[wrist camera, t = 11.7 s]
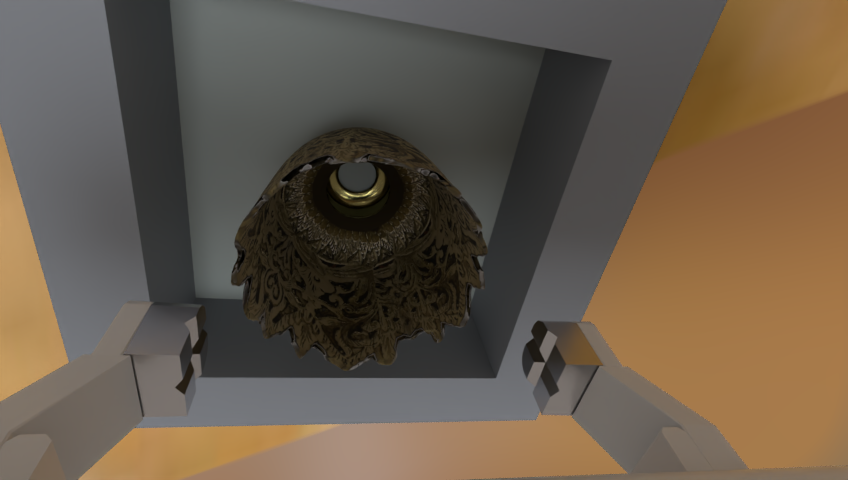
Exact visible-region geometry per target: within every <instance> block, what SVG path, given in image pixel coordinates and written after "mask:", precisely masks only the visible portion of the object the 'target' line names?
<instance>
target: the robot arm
mask: <svg viewBox="0 0 848 480" xmlns="http://www.w3.org/2000/svg"><path fill="white" fill-rule="evenodd" d="M205 321H206V312H205V307H204V306H203V305H197V304H182V303H167V302H146V301H131V300H130V301H128V302H127V303H125V304H124V305H123V306H122V308H121V309H120V311H119V313H118V314H117V316H116V317H115V319H114V320H113V322H112V323H111V325H110V327H109V328H108V330H107V331H106V333H105V334H104V336H103V337H102V339H101V341H100V342H99V344H98V345H97V347H96V348H95V350H94V351H93V353H92V354H91V355H87V354H83V355H82V356H80V357H78V358H76V359H75V360H73V361H71V362H69V363H68V364H66V365H64V366H62V367H61V368H59V369H57V370H55V371H54V372H52V373H50V374H48V375H47V376H45V377H43V378H41V379H39V380H38V381H36V382H34V383H32V384H31V385H29V386H27V387H25V388H24V389H22V390H20V391H18V392H17V393H15V394H13V395H11V396H10V397H8V398H6V399H4V400H3V401H1V402H0V480H78V479H79V478H80V477H81V476H82V475H83V474H84V473H85V472H86V471H87V470H88V469H90V468H91V467H92V466H93V465H94V464H95V463H96V462H97V461H98V460H99V459H101V458H102V457H103V456H104V455H105V454H106V453H107V452H108V451H109V450H110V449H112V448H113V447H114V446H115V445H116V444H117V443H118V442H119V441H120V440H121V439H123V438H124V437H125V436H126V435H127V434H128V433H129V432H130V431H131V430H132V429H133V428H135V427H136V426H137V425H138V424H139V423H140V422H141V421H142V420H143V417H174V416H187V415H188V412H189V409H190V407H191V404H192V401H193V398H194V395H195V393H196V384H195V379H197V378H198V377H199V376H200V375H202V372H203V369H204V366H205V362H206V357H207V351H208V334H207V332H206V331H205V330H204V329H203V326H204V323H205ZM531 333H532V335H533V337H534V338H533V339H532V340H530V341H529V342H528V343H526V345H525V348H524V350H523V353H522V366H523V372H524V374H525V376H526V379H527V380H528V381H529V382H530V383H532V384H533V385H534V386H535V388H534V391H533V395H534V398H535V400H536V402H537V405H538V407H539V409H540V412H541V414H542V415H571V416H572V418H573V419H574V420H575V421H576V422H577V423H578V424H579V425H580V426H581V427H582V428H583V429H584V430H585V431H586V432H587V433H588V434H589V435H590V436H591V437H592V438H593V439H594V440H596V442H597V443H598V444H599V445H600V446H601V447H602V448H603V449H604V450H605V451H606V452H607V453H609V455H610V456H611V457H612V458H613V459H614V460H615V461H616V462H617V463H618V464H619V465H620V466H621V467H622V468H623V469H624V470H625V471H626V472H627V473H628V474H605V475H604V474H603V475H577V476H576V475H575V476H552V477H551V476H550V477H524V478H523V477H522V478H498V479H497V478H496V479H470V480H848V465H846V466H822V467H821V466H820V467H797V468H796V467H795V468H770V469H749V468H748V467H747V466H746V465H745V464H744V462H743V461H742V459H741V458H740V457H739V456H738V455H737V453H736V452H735V451H734V449H733V448H732V447H731V445H730V444H729V443H728V442H727V440H726V439H725V438H724V436H723V435H722V434H721V433H720V431H719V430H718V429H717V427H716V426H715V425H713V424H712V423H710V422H709V421H708V420H706V419H704V418H703V417H702V416H700V415H699V414H697V413H696V412H694V411H693V410H691V409H690V408H688V407H687V406H685V405H684V404H682V403H681V402H679V401H678V400H676V399H675V398H673V397H672V396H670V395H669V394H668V393H666V392H665V391H663V390H661V389H660V388H658V387H657V386H656V385H654V384H653V383H651V382H650V381H648V380H647V379H645V378H644V377H642V376H641V375H639V374H638V373H636V372H635V371H633V370H632V369H630V368H629V367H623V366H622V365H621V363H620V362H619V360H618V359H617V357H616V356H615V354H614V353H613V351H612V350H611V348H610V347H609V346H608V344H607V343H606V341H605V340H604V338H603V337H602V335H601V334H600V332H599V331H598V329H597V328H596V326H595V325H594V324H592V323H591V322H578V321H573V322H567V321H541V320H538V321H537V322H536V323H535V324H534V325H533V328H532V330H531Z"/></svg>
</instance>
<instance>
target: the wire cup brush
mask: <svg viewBox="0 0 848 480" xmlns="http://www.w3.org/2000/svg"><path fill="white" fill-rule="evenodd" d="M365 162H368V163H371V164H372V165H373V166H374V168H375V171H376V179H375V182H374V184H373V185H372V186H371V187H370V188H369V189H367V190H365V191H362V192H353V191H350V190H348V189H346V188H345V187H344V186H343V185H342V184H341V182H340V180H339V175H338V174H339V169H340V167H341V165H343V164H346V163H365ZM461 195H462V193H461V192H460V191H459V190H458V189H457V188H456V187H455V186H453V184H452V183H451V182H450V181H449V180H448V179H447V177H446V176H445V175H444V174H443V173H442V172H441V171H440V170H439V169H438V167H437V166H436V165H435V164H434V163H433V162H432V161H431V160H430V159H429V158H428V157H427V156H426V155H425V154H424V153H422V152H421V151H420V150H419V149H417V148H416V147H415V146H414V145H412V144H411V143H409V142H407V141H406V140H404V139H402V138H400V137H398V136H396V135H394V134H391V133H388V132H385V131H382V130H378V129H373V128H365V127H351V128H343V129H338V130H334V131H331V132H328V133H325V134H322V135H320V136H318V137H316V138H314V139H312V140H310V141H309V142H307V143H306V144H304V145H303V146H301V147H300V148H299V149H298V150H296V151H295V152H294V153H293V154H292V155H291V156H290V157H289V158H288V159H287V160H286V161H285V162H284V164H283V165H282V166H281V167H280V169H279V170H278V171H277V173H276V174H275V175H274V177H273V178H272V180H271V181H270V182H269V184H268V185H267V187H266V188H265V190H264V191H263V193H262V194H261V196H260V197H259V199H258V201H257V202H256V204H255V205H254V207H253V208H252V209H251V210H250V212H249V213H248V214H247V216H246V217H245V219H244V220H243V222H242V223H241V225H240V227H239V229H238V231H237V234H236V236H235V241H234V245H235V249H236V250H237V253H238V258H237V261H236V263H235V264H234V267H233V270H232V273H231V284H232V286H238V287H240V286H242V285H243V284H244V283H245V285H244V291H243V300H242V304H243V309H244V313H245V315H246V317H247V318H248V319H249V320H252V321H255V320H257V321H258V324H261V328H262V333H263V336H264V338H265V339H269V338H273V337H275V336H277V335H283V334H284V333H285V332H287V330H288V331H289V333H290V337H291V344H292V346H293V348H294V349H295V352H296V354H297V356H298V358H299V359H301V358H303V356H304V355H306V354H307V352H308V351H309V350H310V349H311V348H314V349H316V350H318V351H319V352H321V353H322V354H323V356H324V358H325V360H327V361H328V362H330V363H332V364H334V365H336V366H337V367H339V368H340V369H342V370H343V371H350V370H353V369H355V368H357V367H358V366H360V365H361V364H363V363H366V362H368V361H370V360H372V359H373V360H374V361H376V362H377V363H378V364H379V365H391V364H393V363H394V361H395V360H396V358H397V347H398V344H399V343H398V342H399V341H403V340H405V339H409V340H414V339H416V338H417V336H418V335H419V334H421V332H423V333H424V332H425V333H426V334H430V335H431V337H432V339H433V341H434V342H435V343H439V342H441V341H442V340H443V338H444V336H445V325H447V326H449V325H450V326H451V327H458V328H461V327H464V326H465V325H466V323H467V321H468V320H469V318H470V313H471V291H472V287H473V288H477V289H481V288H482V289H483V290H484V289H485V279H484V271H483V269H482V268H481V266H480V264H479V260H478V258H477V257H478V256H480V257H483V256H485V255H487V253H488V249H487V245H486V243H485V240H484V238H483V234H482V231H481V230H482V224H481V222H480V220H479V218H478V217H477V215H476V213H475V212H474V211H473V209H472V208H471V207H470V205H469V204H468V203H467V201H466V200H465V199H464V198H463V197H462V196H461ZM418 333H419V334H418Z"/></svg>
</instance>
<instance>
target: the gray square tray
mask: <svg viewBox="0 0 848 480" xmlns="http://www.w3.org/2000/svg"><path fill="white" fill-rule="evenodd" d="M726 2H727V0H0V124H1V128H2V131H3V135H4V138H5V142H6V145H7V149H8V152H9V156H10V159H11V163H12V166H13V170H14V173H15V176H16V180H17V183H18V187H19V190H20V194H21V197H22V201H23V204H24V208H25V211H26V215H27V218H28V221H29V225H30V228H31V232H32V235H33V239H34V242H35V246H36V249H37V253H38V256H39V260H40V263H41V266H42V270H43V273H44V277H45V280H46V284H47V287H48V291H49V294H50V298H51V301H52V305H53V308H54V312H55V315H56V318H57V322H58V325H59V329H60V332H61V336H62V339H63V343H64V346H65V350H66V353H67V357H68V360H69V362H71V361H73V360H75V359H76V358H78V357H80V356H82V355H83V354H87V355H91V354H92V353H93V351H94V350H95V348H96V347H97V345H98V344H99V342H100V341H101V339H102V337H103V336H104V334H105V333H106V331H107V330H108V328H109V327H110V325H111V323H112V322H113V320H114V319H115V317H116V316H117V314H118V313H119V311H120V309H121V308H122V306H123V305H124V304H125V303H127V302H128V301H130V300H131V301H146V302H167V303H182V304H197V305H203V306H204V307H205V312H206V321H205V323H204V326H203V329H204V330H205V331H206V332H207V334H208V351H207V357H206V362H205V366H204V369H203V372H202V375H200V376H199V377H198V378H197V379H195V384H196V393H195V395H194V398H193V401H192V404H191V407H190V409H189V412H188V415H187V416H174V417H143V420H142V421H141V422H140V423H139V424H138V425H137V426H136V427H135V428H157V427H207V426H258V425H309V424H355V423H356V424H358V423H405V422H407V423H410V422H458V421H505V420H506V421H507V420H508V421H510V420H536V419H537V417H538V414H539V412H540V409H539V407H538V405H537V402H536V400H535V398H534V395H533V391H534V388H535V386H534V385H533V384H532V383H530V382H529V381H528V380H527V379H526V376H525V374H524V372H523V366H522V353H523V350H524V348H525V345H526V343H528V342H529V341H530V340H532V339H533V338H534V337H533V335H532V333H531V330H532V328H533V325H534V324H535V323H536V322H537V321H538V320H541V321H567V322H573V321H578V322H581V320H582V318H583V315H584V314H585V311H586V309H587V307H588V305H589V303H590V300H591V298H592V296H593V294H594V291H595V289H596V287H597V285H598V283H599V281H600V278H601V276H602V274H603V272H604V269H605V267H606V265H607V263H608V261H609V259H610V257H611V254H612V252H613V250H614V247H615V246H616V243H617V241H618V239H619V237H620V235H621V232H622V230H623V228H624V226H625V224H626V221H627V219H628V217H629V215H630V213H631V210H632V208H633V206H634V204H635V202H636V200H637V197H638V195H639V193H640V191H641V188H642V186H643V184H644V182H645V180H646V178H647V175H648V173H649V171H650V169H651V167H652V164H653V162H654V160H655V158H656V156H657V153H658V151H659V149H660V147H661V145H662V143H663V140H664V138H665V136H666V134H667V132H668V129H669V127H670V125H671V123H672V121H673V118H674V116H675V114H676V112H677V110H678V107H679V105H680V103H681V101H682V99H683V96H684V94H685V92H686V90H687V88H688V86H689V83H690V81H691V79H692V77H693V75H694V72H695V70H696V68H697V66H698V64H699V61H700V59H701V57H702V55H703V53H704V50H705V48H706V46H707V44H708V42H709V39H710V37H711V35H712V33H713V31H714V29H715V26H716V24H717V22H718V20H719V18H720V15H721V13H722V11H723V9H724V7H725V4H726ZM351 127H365V128H373V129H378V130H382V131H385V132H388V133H391V134H394V135H396V136H398V137H400V138H402V139H404V140H406V141H407V142H409V143H411V144H412V145H414V146H415V147H416V148H417V149H419V150H420V151H421V152H422V153H424V154H425V155H426V156H427V157H428V158H429V159H430V160H431V161H432V162H433V163H434V164H435V165H436V166H437V167H438V169H439V170H440V171H441V172H442V173H443V174H444V175H445V176H446V177H447V179H448V180H449V181H450V182H451V183H452V184H453V186H455V187H456V188H457V189H458V190H459V191H460V192H461V193H462V195H461V196H462V197H463V198H464V199H465V200H466V201H467V203H468V204H469V205H470V207H471V208H472V209H473V211H474V212H475V213H476V215H477V217H478V218H479V220H480V222H481V224H482V230H481V231H482V234H483V238H484V240H485V243H486V245H487V249H488V253H487V255H485V256H483V257H480V256H478V257H477V258H478V260H479V264H480V266H481V268H482V269H483V271H484V279H485V289H484V290H483V289H482V288H481V289H477V288H473V287H472V291H471V313H470V318H469V320H468V321H467V323H466V325H465V326H464V327H461V328H458V327H451V326H450V325H449V326H447V325H445V336H444V338H443V340H442V341H441V342H439V343H435V342H434V341H433V339H432V337H431V335H430V334H426V333H425V332H424V333H423V332H421V334H419V333H418V334H419V335H418V336H417V338H416V339H414V340H409V339H405V340H403V341H399V342H398V343H399V344H398V347H397V358H396V360H395V361H394V363H393V364H391V365H379V364H378V363H377V362H376V361H374V360H373V359H372V360H370V361H368V362H366V363H363V364H361V365H360V366H358V367H357V368H355V369H353V370H350V371H343V370H342V369H340V368H339V367H337V366H336V365H334V364H332V363H330V362H328V361H327V360H325V358H324V356H323V354H322V353H321V352H319V351H318V350H316V349H314V348H311V349H310V350H309V351H308V352H307V354H306V355H304V356H303V358H301V359H299V358H298V356H297V354H296V352H295V349H294V348H293V346H292V344H291V337H290V333H289V331H288V330H287V332H285V333H284V334H283V335H277V336H275V337H273V338H269V339H265V338H264V336H263V333H262V328H261V324H258V321H257V320H255V321H252V320H249V319H248V318H247V317H246V315H245V313H244V309H243V304H242V300H243V291H244V285H245V283H244V284H243V285H242V286H240V287H238V286H232V284H231V273H232V270H233V267H234V264H235V263H236V261H237V258H238V253H237V250H236V249H235V245H234V241H235V236H236V234H237V231H238V229H239V227H240V225H241V223H242V222H243V220H244V219H245V217H246V216H247V214H248V213H249V212H250V210H251V209H252V208H253V207H254V205H255V204H256V202H257V201H258V199H259V197H260V196H261V194H262V193H263V191H264V190H265V188H266V187H267V185H268V184H269V182H270V181H271V180H272V178H273V177H274V175H275V174H276V173H277V171H278V170H279V169H280V167H281V166H282V165H283V164H284V162H285V161H286V160H287V159H288V158H289V157H290V156H291V155H292V154H293V153H294V152H295V151H296V150H298V149H299V148H300V147H301V146H303V145H304V144H306V143H307V142H309V141H310V140H312V139H314V138H316V137H318V136H320V135H322V134H325V133H328V132H331V131H334V130H338V129H343V128H351ZM338 175H339V180H340V182H341V184H342V185H343V186H344V187H345V188H346V189H348V190H350V191H353V192H362V191H365V190H367V189H369V188H370V187H371V186H372V185H373V184H374V182H375V179H376V171H375V168H374V166H373V165H372V164H371V163H368V162H365V163H346V164H343V165H341V167H340V169H339V174H338Z"/></svg>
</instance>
